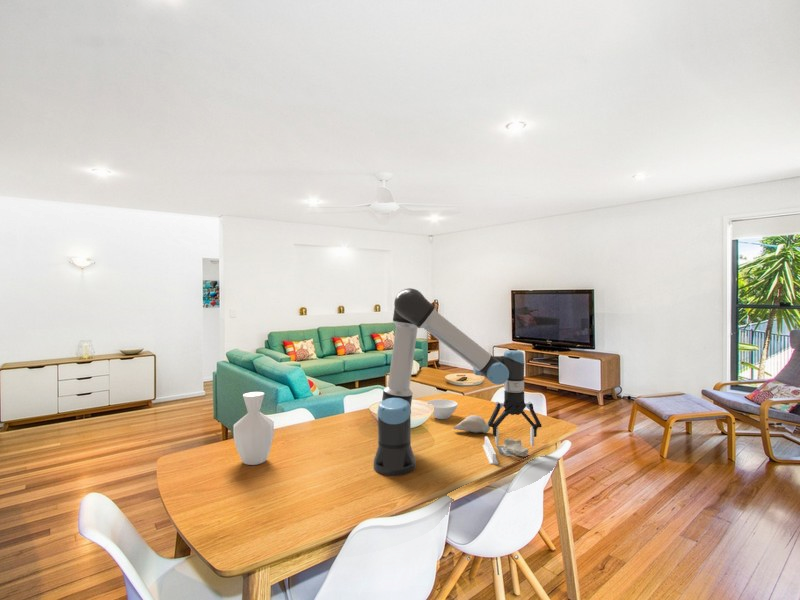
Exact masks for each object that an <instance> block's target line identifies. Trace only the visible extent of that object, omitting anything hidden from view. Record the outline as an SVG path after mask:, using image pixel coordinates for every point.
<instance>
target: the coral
mask: <svg viewBox="0 0 800 600" xmlns="http://www.w3.org/2000/svg"><path fill="white" fill-rule="evenodd" d="M502 446H503V450H506V449H507V450H511V451H512V452H513V453H514V454H516V455H519V456H518V457H522V458H525V457H527V456H528V453H529V451H530V449H529V448H527V447H525V446H523V444H522V441H521V439H516V440H515V439H514V438H509V437H506V438H505V439H504V443H503V445H502Z"/></svg>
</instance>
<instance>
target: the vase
mask: <svg viewBox="0 0 800 600" xmlns="http://www.w3.org/2000/svg"><path fill="white" fill-rule="evenodd" d="M264 396H265V392H262V391H250V392H246V393H243V394H242V398H243V400H244V404H245V408H246V411H247V413H246V414H245V415H244V416H242V417H241V418H240V419H238V421H237V422H235V423H234V424H233V426H232V428H233V441H234V445H235V447H236V452H237V453H238V455H239V457H240V460H241V461H242V463H243V464H244V465H251V466H256V465H261V464H263V463H265V462H266V460H267V459H268V458H269V456H270V453H271V447H272V443H273V439H274V435H275V434H274V432H275V429H274V428H275V427H274V426H275V421H274V420H273V419H272V418H271V417H269V416H267V415H265V414H264V413H262V412H261V408H262V405H263V404H262V403H263V401H264Z"/></svg>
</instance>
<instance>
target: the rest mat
mask: <svg viewBox="0 0 800 600" xmlns="http://www.w3.org/2000/svg"><path fill="white" fill-rule="evenodd" d="M495 446H496V448H497V451H498V452H499V454H500V456H503V455H504V457H520V456H519V455H516V454H514V453H513V452H512V451H511V450H507V449H506V450H503V446H504V445H499V446H497V445H495Z"/></svg>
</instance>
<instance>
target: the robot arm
mask: <svg viewBox="0 0 800 600" xmlns="http://www.w3.org/2000/svg"><path fill="white" fill-rule="evenodd" d="M393 302H394V304H393V305H394V309H393V317H392V323H393V324H394V326H395V330H394V331H395V332H394V336H393V346H392V354H391V360H390V365H389V366H390V368H389V373H388V382H387V385H386V386H385V388H383V392H382V398H381V399H382V400H381V401H380V402H379V403H378V405H377V406H378V407H377V408H378V409H377V415H378V416H377V421H378V424H377V428H378V429H377V430H378V431H377V432H378V436H377V437H378V438H377V440H378V441H377V443H378V445H377V449H376V453H375V454H374V458H373V469H374V471H375V472H376V473H378V474H381V475H384V476H389V477H390V476H391V477H397V476H398V477H400V476H404V475H408V474H410V473H412V472H414V471H415V470H416V463H417V462H416V457H415V455H414V451H413V449H412V446H411V445H412V444H411V443H412V441H411V437H412V436H411V433H412V432H411V418H412V417H411V416H412V415H411V414H412V402H413V394H414V393H413V391H412V390H411V389H410V388H411V387H410V386H411V380H412V379H411V378H412V373H413V365H414V359H415V350H416V343H417V342H416V341H417V334H418V329H424V330H426V331H427V332H428V333H429V334H431V335H432V336H433V338H436V339H437V340H438V341H440V343H442V344H443V345H444V346H446V347H447V348H448V349H450V350H451V351H452V352H453V353H455V354H456V355H457V356H458V357H460V358H461V359H462V360H463V361H465V362H466V363H467V364H469V365H470V366H471V367H472V369H473V370H472V371H473V374H474V375H475V376H480V377H485V378H486V379H487V380H488V381H489V382H490V383H492V384H494V385H498V386H499V385H503V384H504V385H503V386H504V393H503V394H504V396H503V397H504V398H503V399H504V402H499V401H496V402H495V408H494V410H493V411H492V414H491V415H490V418H489V420H488V421H487V424H488V425H489V427H490V428H492V436H493V437H494V443H495V446H500V444H499V435H500V434H499V427H498V426H499V425H500V424H501V423H502V422H503V421H504V420H505V418H507V416H509V415H511V416H514V415H516V416H519V415H522V417H524V419H526V421H527V422H528V423H529V425H530V429H529V430H530V432H529V443H530V446H531V447H535V438H537V435H538V434H537V430H538V429H539V428H542V423H541V422H540V420H539V418H538V416H537V413H536V412H535V410H534V404H532V402H531V401H529V402H526V403H525V391H524V390H525V364H526V363H525V354H524V352H523V351H521V350H514V349H513V350H505V351H504V353H503V355H500V356H499V355H497V356H496V355H492V354H491V353H490V352H488V351H487V350H486V349H485V348H483V347H482V346H481V345H480V344H478V343H477V342H476V341H474V340H473V339H472V338H471V337H469V336H468V335H467V334H465V333H464V332H463V331H462V330H460V329H459V328H458V327H457V326H455V325H454V324H453V323H452V322H451V321H449V320H448V319H446V317H444V316H442V315H441V314H440V313H439V312H437V308H436V306H435V305H433V304H432V303H431V302H430V301H429V300H428V299H427V298H426V297H425V296H424V295H423V293H422V292H421V291H419V290H418V289H415V288H410V287H409V288H404V289H402V290H400V291H399V292H398V293H397V294H396V296H395V298H394V301H393ZM502 408H504V410H503V411H502V412H501V414H500V415H499V416H498V414H499V413H500V410H501V409H502ZM526 408H527V409H528V411H529V412H530V414H531V415H532V417H533V419H534V421H532V419H531V418H530V417H529V416H528V415H527V413H525V411H524V410H525V409H526ZM497 416H498V417H497ZM531 426H532V427H531Z"/></svg>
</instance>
